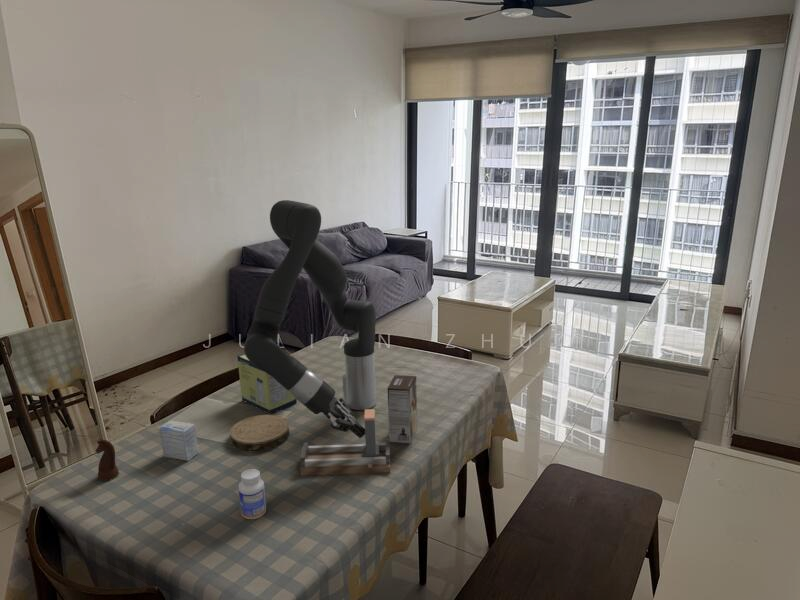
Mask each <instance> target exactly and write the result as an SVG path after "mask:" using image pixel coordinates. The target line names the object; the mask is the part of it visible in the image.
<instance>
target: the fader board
mask: <svg viewBox="0 0 800 600" xmlns="http://www.w3.org/2000/svg"><path fill="white" fill-rule="evenodd" d="M390 443H391V442H390V441H389V439H385V443H376V445H379V457H363V445H366V443H359V444H358V443H353V444H351V443H350V444H331V445H330V444H329V445H328V444H326V445H309V442H304V443H303V446H302V450H301V454H300V457H299V461H300V469H299V471H300V472H299V473H300V476H321V475H323V476H324V475H347V474H348V475H350V474H355V475H356V474H374V473H377V474H379V473H391V450H390V449H391V448H390V447H391V444H390Z"/></svg>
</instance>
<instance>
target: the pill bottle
mask: <svg viewBox="0 0 800 600" xmlns="http://www.w3.org/2000/svg"><path fill="white" fill-rule="evenodd" d="M265 492H266V491H265V482H264V479H262V478H261V473H260V470H258V468H257V469H256V468H250V469H245V470H244V471H242V473H240V482H239V484H238V494H239V496H238V497H239V503H240V504H239V505H240V513H241V516H242V517H243V518H244V519H247V520H256V519H259V518H261V517H262V516H263V515H264V514H265V513H266V511H267V503H266V501H267V500H266V493H265Z"/></svg>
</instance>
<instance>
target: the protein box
mask: <svg viewBox="0 0 800 600" xmlns="http://www.w3.org/2000/svg"><path fill="white" fill-rule="evenodd" d="M236 357H237V366H238V374H239V375H238V376H239V383H240V394H241V401H242V400H244V401H246V402H247V403H246V402H245V403H246V404H248V403H249V404H248V405H250V404H251V405H250V406H252V405H253V406H252V407H254V406H255V407H254V408H256V407H257V408H256V409H258V408H259V409H258V410H260V409H261V410H260V411H262V410H263V411H262V412H264V411H265V412H264V413H266V412H267V413H266V414H268V413H272V414H274V413H276V411H277V412H279V411H281V410H284V409H286V408H288V407H290V406H293V405H296V404H297V403H298V402H297V401H298V400H297V399H296V398H295V397H294V396H293V395H292V394H291V393H290V392H289V391H288V390H287V389H286V388H284V387H283V386H282V385H281V384H280V383H278V382H277V381H276V380H275V379H274V378H273V377H272V376H270V375H269V374H267V373H266V372H264V371H263V370H261V369H260V368H258V367H257V366H256V365H254V364H253V363H252V362H251V361H249V359H248V358H247V357H246V355H245V352H244V353H241V354H239V355H237V356H236ZM244 401H243V402H244ZM273 412H274V413H273Z"/></svg>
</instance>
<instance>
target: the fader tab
mask: <svg viewBox="0 0 800 600" xmlns="http://www.w3.org/2000/svg"><path fill="white" fill-rule="evenodd" d="M364 428H365V435H364V437H365V444H366V445H363V457H379V445H376V444H377V442H376V441H377V439H376V410H375V408H374V409H373V408H372V409H371V408H369V409H365V410H364Z"/></svg>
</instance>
